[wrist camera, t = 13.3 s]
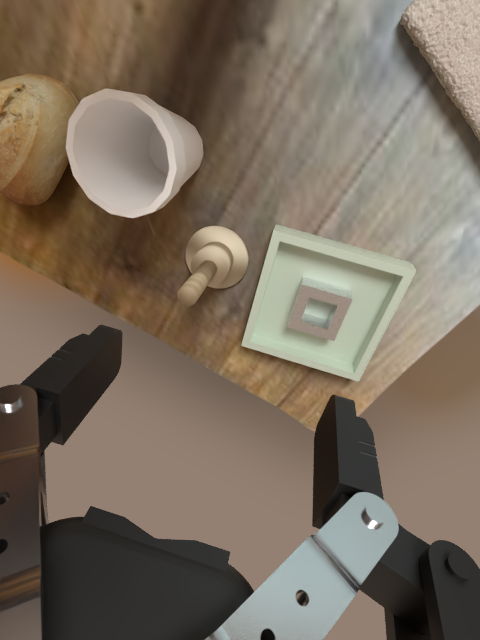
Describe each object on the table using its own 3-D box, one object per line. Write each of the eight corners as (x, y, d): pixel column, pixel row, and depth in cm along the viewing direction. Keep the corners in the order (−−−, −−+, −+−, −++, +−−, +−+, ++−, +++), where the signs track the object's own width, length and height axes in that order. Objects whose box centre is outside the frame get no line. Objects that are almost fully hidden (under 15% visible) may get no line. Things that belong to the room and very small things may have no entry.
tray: (276, 224, 42) (273, 230, 39) (411, 262, 41) (416, 270, 38) (244, 335, 50) (241, 345, 47) (356, 369, 49) (358, 381, 46)
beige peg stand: (192, 217, 43) (151, 247, 33) (255, 235, 43) (234, 271, 32) (182, 276, 47) (144, 319, 37) (240, 294, 47) (218, 341, 36)
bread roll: (-4, 170, 45) (-62, 178, 38) (30, 49, 38) (-34, 33, 31) (61, 218, 47) (17, 234, 40) (106, 110, 39) (61, 107, 33)
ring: (303, 276, 43) (302, 284, 41) (351, 290, 43) (352, 299, 41) (288, 317, 46) (287, 327, 44) (333, 331, 46) (334, 341, 44)
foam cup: (123, 159, 41) (51, 171, 30) (158, 79, 37) (88, 59, 26) (191, 209, 43) (145, 239, 31) (233, 137, 38) (197, 143, 27)
